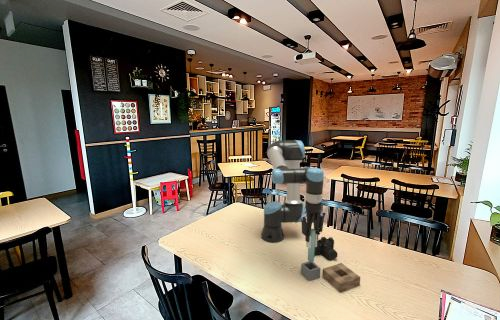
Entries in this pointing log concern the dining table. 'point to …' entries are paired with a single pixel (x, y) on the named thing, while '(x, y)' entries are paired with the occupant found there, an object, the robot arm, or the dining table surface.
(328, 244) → the camera
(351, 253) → the dining table surface
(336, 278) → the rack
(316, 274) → the pen cup
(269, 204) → the robot arm
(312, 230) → the dowel
